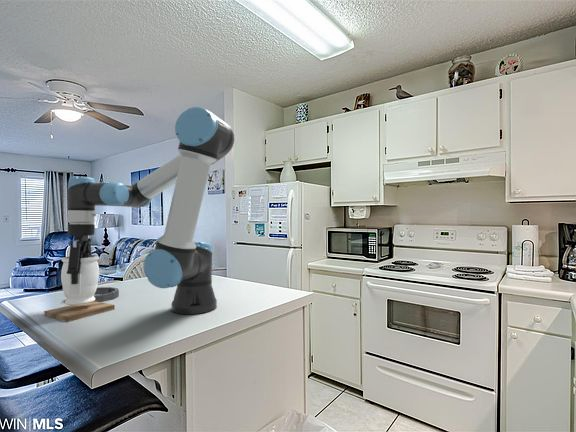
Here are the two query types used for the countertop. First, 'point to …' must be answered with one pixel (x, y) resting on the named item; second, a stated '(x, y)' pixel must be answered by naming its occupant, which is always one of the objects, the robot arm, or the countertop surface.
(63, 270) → the jar
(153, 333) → the countertop surface
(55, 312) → the board
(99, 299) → the collar
